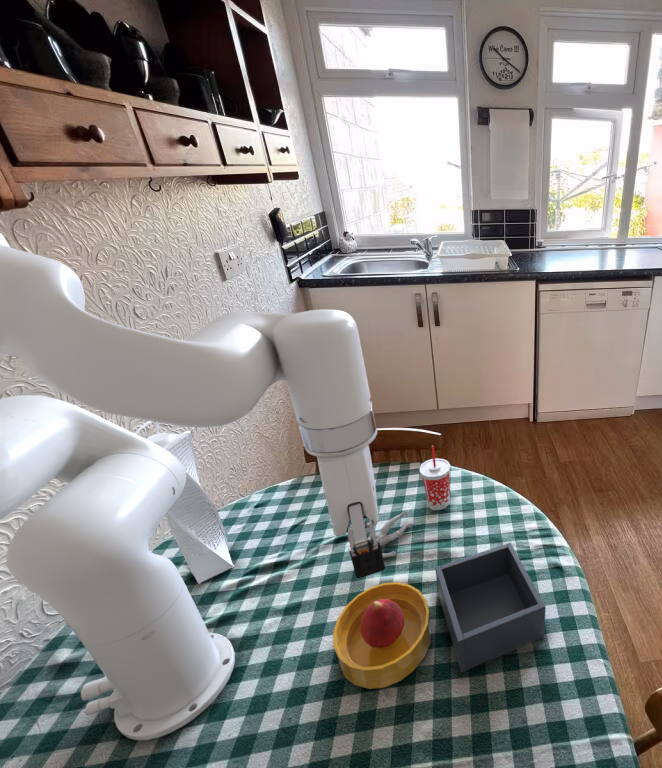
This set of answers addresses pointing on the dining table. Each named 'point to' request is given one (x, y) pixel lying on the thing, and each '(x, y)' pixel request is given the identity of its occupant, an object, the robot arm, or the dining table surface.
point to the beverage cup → (436, 482)
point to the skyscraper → (194, 513)
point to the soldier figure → (385, 538)
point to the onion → (382, 623)
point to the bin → (489, 605)
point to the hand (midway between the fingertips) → (366, 542)
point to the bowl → (388, 662)
